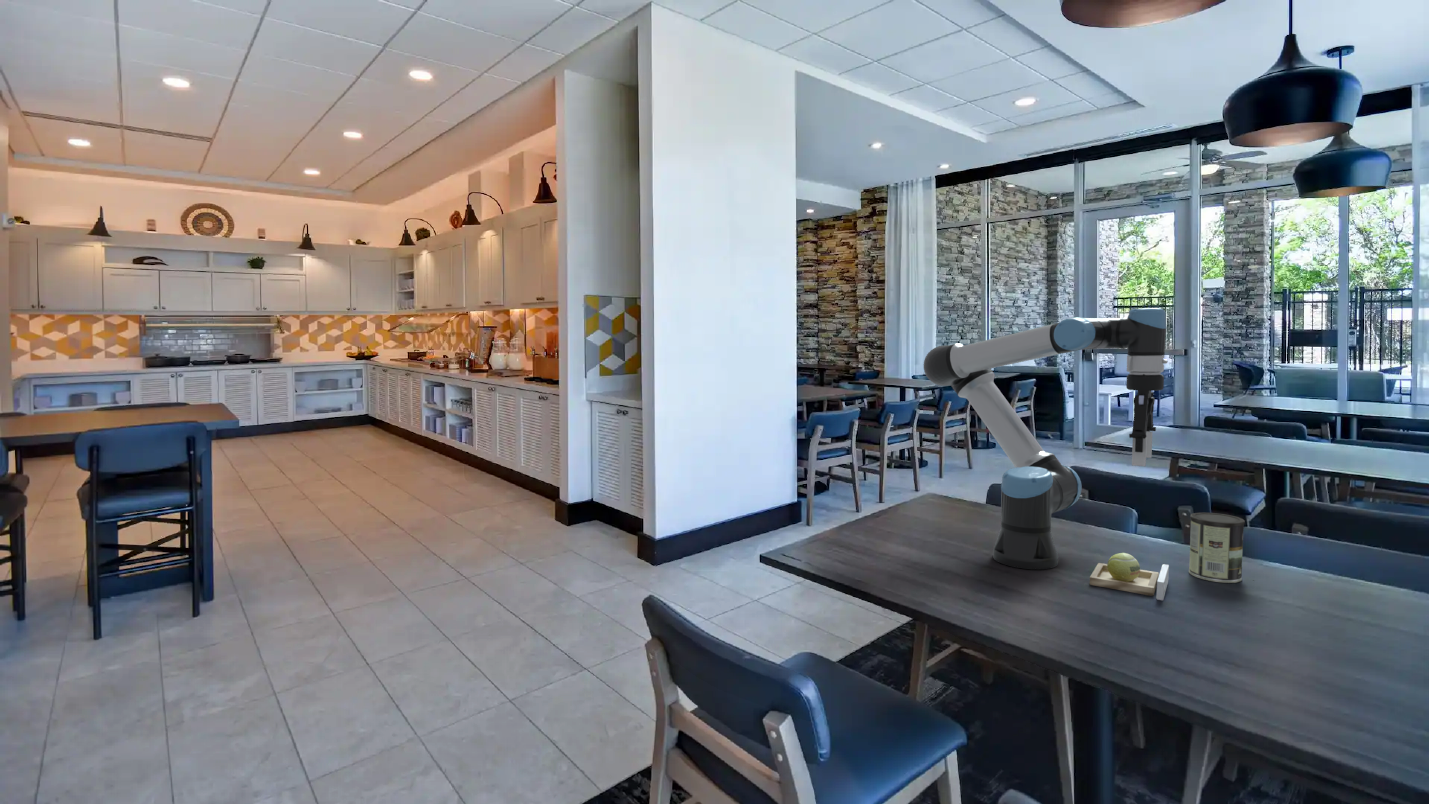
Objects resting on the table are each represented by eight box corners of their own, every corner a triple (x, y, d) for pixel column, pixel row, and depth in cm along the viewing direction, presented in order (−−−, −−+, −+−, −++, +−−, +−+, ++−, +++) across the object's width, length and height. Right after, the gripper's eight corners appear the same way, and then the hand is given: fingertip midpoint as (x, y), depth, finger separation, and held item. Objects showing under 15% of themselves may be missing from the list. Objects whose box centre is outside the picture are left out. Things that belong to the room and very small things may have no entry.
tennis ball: (1128, 557, 153) (1144, 551, 157) (1099, 554, 159) (1114, 548, 163) (1132, 585, 153) (1147, 579, 157) (1102, 581, 159) (1117, 575, 162)
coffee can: (1227, 569, 165) (1229, 512, 164) (1251, 584, 155) (1254, 523, 154) (1179, 567, 168) (1182, 511, 166) (1200, 582, 157) (1203, 522, 156)
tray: (1089, 584, 157) (1089, 577, 157) (1098, 570, 167) (1098, 562, 167) (1153, 596, 149) (1153, 588, 149) (1158, 580, 159) (1158, 572, 159)
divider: (1156, 599, 148) (1157, 581, 147) (1162, 580, 159) (1162, 564, 158) (1163, 600, 147) (1163, 582, 146) (1168, 581, 158) (1168, 565, 158)
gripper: (1159, 376, 150) (1155, 471, 152) (1168, 371, 170) (1164, 455, 172) (1119, 375, 155) (1116, 467, 157) (1133, 371, 175) (1130, 453, 176)
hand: (1141, 461), depth 164 cm, fingers open, 13 cm apart
